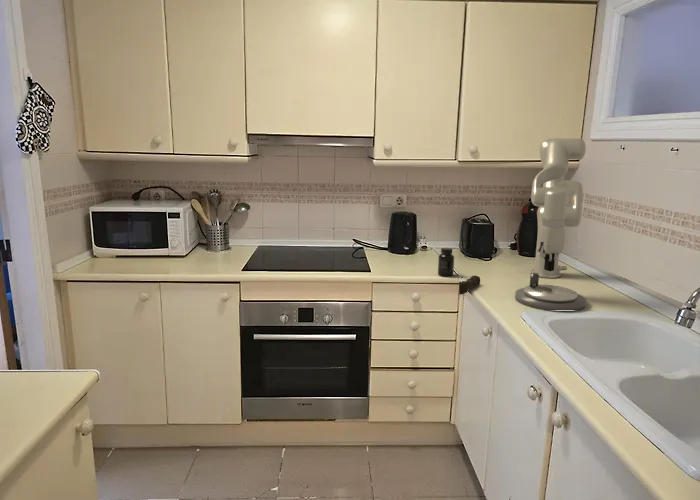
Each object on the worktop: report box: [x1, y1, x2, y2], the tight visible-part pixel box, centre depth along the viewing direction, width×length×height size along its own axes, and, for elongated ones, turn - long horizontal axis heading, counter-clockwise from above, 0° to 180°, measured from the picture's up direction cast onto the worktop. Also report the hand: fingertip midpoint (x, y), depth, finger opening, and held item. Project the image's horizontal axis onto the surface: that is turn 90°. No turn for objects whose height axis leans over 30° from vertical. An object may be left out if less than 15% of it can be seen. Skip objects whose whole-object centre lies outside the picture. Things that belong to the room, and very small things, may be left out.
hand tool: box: [458, 275, 481, 295], centre depth 189 cm, size 19×4×5 cm, turn 145°
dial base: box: [514, 287, 587, 311], centre depth 174 cm, size 24×24×2 cm
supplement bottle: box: [437, 247, 455, 278], centre depth 210 cm, size 7×7×12 cm
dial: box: [523, 272, 579, 303], centre depth 173 cm, size 18×18×6 cm
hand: (548, 270), depth 183 cm, fingers closed
